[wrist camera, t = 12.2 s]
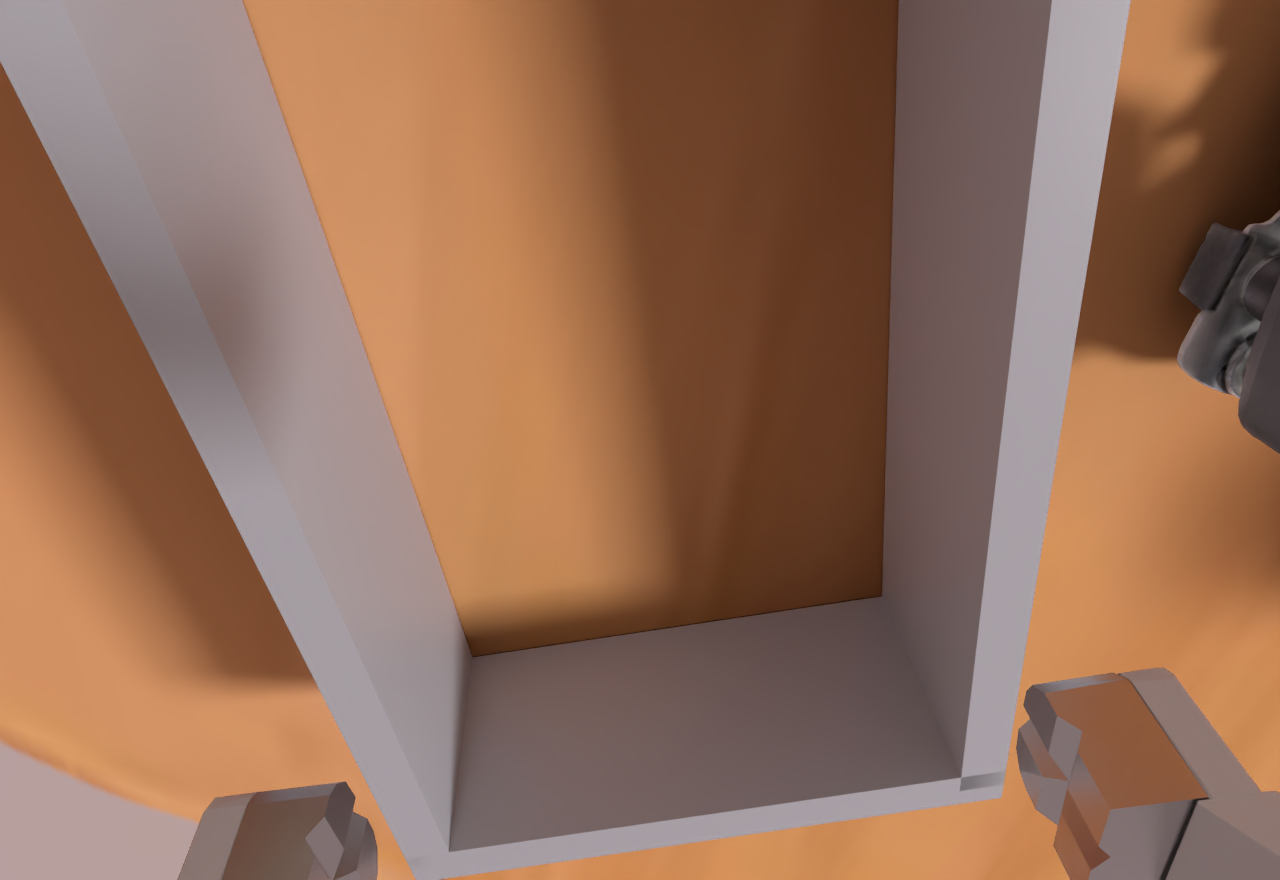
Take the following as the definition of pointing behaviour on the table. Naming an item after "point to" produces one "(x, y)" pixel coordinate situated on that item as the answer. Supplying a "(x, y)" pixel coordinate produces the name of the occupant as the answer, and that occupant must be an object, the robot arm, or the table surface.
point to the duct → (640, 662)
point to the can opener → (1238, 322)
